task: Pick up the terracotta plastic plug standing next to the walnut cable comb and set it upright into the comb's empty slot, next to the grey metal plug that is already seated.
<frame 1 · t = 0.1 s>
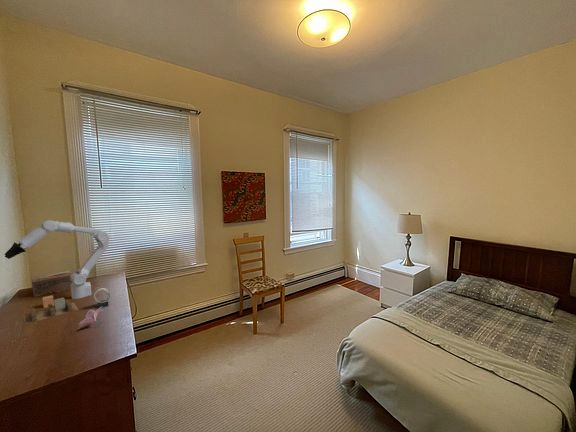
hand: (6, 256, 126), 32 cm above the dresser, tool tilted 50°, fingers open, 7 cm apart
tissue box cover: (60, 288, 166), on the dresser
lily: (92, 326, 116), on the dresser
grey plug: (60, 310, 131), point 1 cm above the dresser, touching cable comb
cable comb: (51, 314, 128), on the dresser
terracotta plug: (48, 307, 137), on the dresser
watch: (103, 307, 136), on the dresser
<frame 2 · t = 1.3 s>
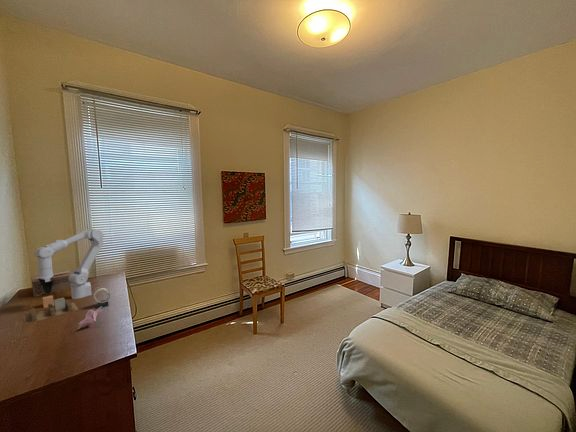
hand: (47, 291, 136), 9 cm above the dresser, tool pointing down, fingers open, 7 cm apart
nothing on the dresser moved.
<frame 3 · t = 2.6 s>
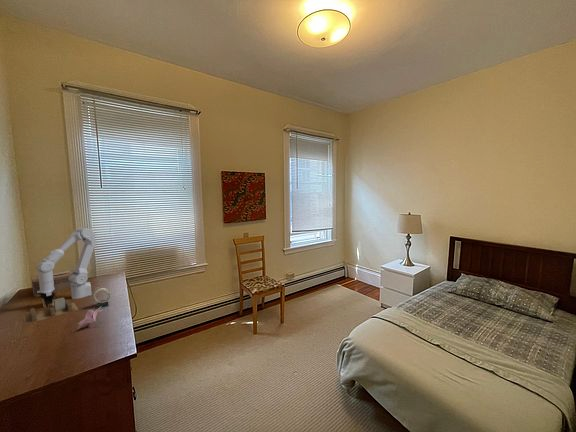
hand: (48, 304, 136), 1 cm above the dresser, tool pointing down, fingers closed on terracotta plug, 4 cm apart
terracotta plug: (48, 307, 137), on the dresser, touching gripper
everything else where it was.
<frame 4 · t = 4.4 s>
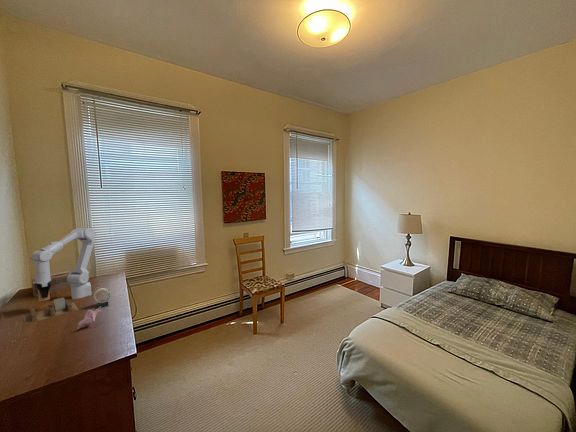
hand: (44, 296, 131), 9 cm above the dresser, tool pointing down, fingers closed on terracotta plug, 4 cm apart
terracotta plug: (44, 299, 131), point 7 cm above the dresser, touching gripper
everything else where it was.
when the fingers open (4 cm above the dresser, at t = 6.1 s): terracotta plug drops 1 cm, resting on cable comb.
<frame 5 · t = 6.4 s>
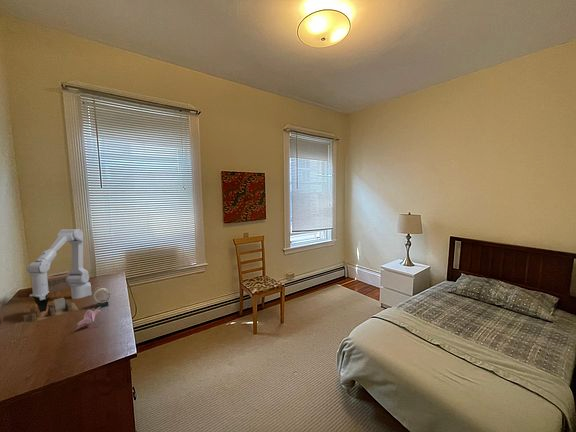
hand: (42, 309, 125), 4 cm above the dresser, tool pointing down, fingers open, 6 cm apart
terracotta plug: (42, 314, 126), point 1 cm above the dresser, touching cable comb
everything else where it was.
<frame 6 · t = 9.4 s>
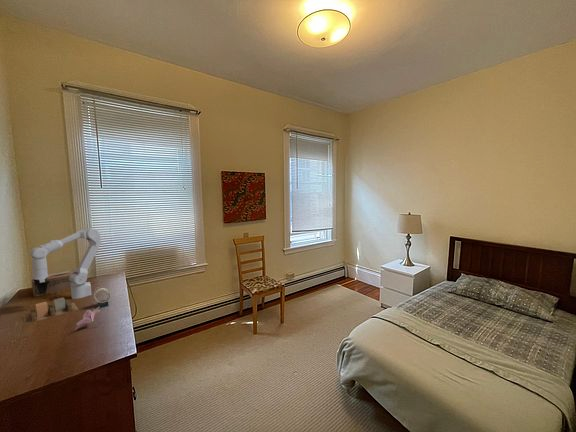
hand: (42, 292, 135), 9 cm above the dresser, tool pointing down, fingers open, 7 cm apart
at the end: terracotta plug inside the target area on the cable comb (0.1 cm from its centre), point 1.0 cm above the cable comb's base; terracotta plug tilted 0°; grey plug moved 0.0 cm from its start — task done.
